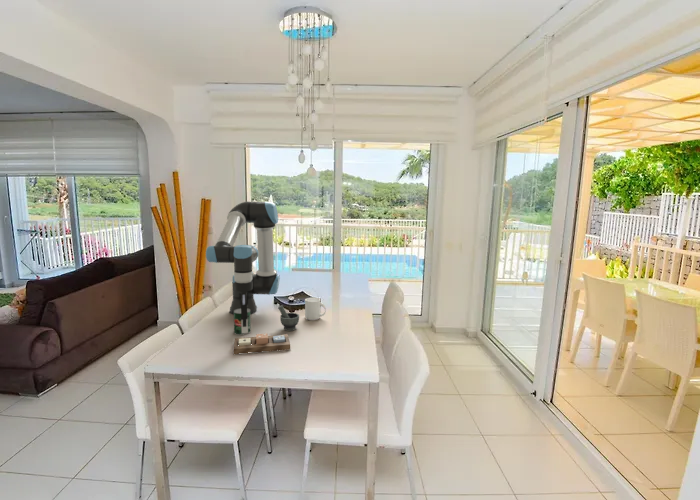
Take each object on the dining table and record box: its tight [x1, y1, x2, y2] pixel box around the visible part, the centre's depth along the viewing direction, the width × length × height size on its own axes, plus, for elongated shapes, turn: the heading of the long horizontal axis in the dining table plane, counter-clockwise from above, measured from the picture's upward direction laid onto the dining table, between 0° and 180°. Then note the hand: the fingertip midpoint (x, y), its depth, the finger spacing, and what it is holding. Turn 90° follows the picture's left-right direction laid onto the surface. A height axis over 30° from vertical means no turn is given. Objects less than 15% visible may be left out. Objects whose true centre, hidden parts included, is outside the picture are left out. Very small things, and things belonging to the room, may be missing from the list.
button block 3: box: [273, 334, 285, 343], centre depth 160 cm, size 5×5×3 cm
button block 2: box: [255, 332, 269, 344], centre depth 158 cm, size 5×5×3 cm
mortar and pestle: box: [277, 304, 300, 332], centre depth 180 cm, size 11×9×12 cm
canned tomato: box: [233, 308, 252, 336], centre depth 174 cm, size 8×8×11 cm
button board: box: [232, 333, 291, 355], centre depth 158 cm, size 24×12×2 cm, turn 106°
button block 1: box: [239, 337, 251, 346], centre depth 156 cm, size 5×5×3 cm
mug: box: [304, 297, 327, 321], centre depth 197 cm, size 9×12×11 cm
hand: (244, 332), depth 156 cm, fingers closed
